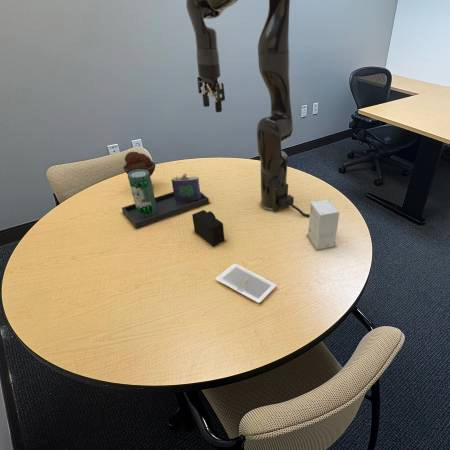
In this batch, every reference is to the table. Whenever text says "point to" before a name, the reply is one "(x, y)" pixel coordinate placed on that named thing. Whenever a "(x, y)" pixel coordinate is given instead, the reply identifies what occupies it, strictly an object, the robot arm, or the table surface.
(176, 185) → the flask
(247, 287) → the touchpad
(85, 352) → the table surface
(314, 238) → the small box
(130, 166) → the ice cream bowl
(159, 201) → the tray
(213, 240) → the digital camera
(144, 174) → the can
